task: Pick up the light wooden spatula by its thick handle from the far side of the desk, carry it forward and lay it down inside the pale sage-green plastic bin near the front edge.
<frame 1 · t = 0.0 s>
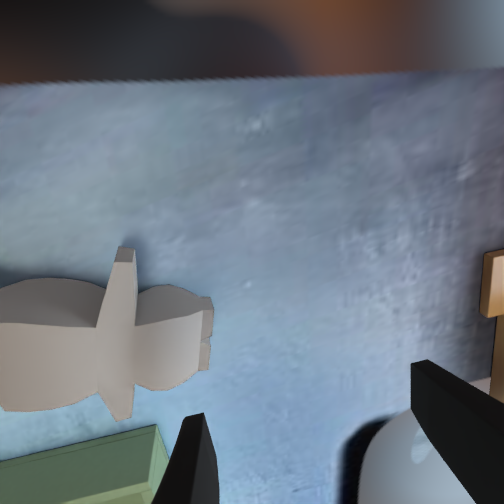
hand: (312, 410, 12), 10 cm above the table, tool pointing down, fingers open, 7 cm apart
bunny figurine: (81, 311, 20), on the table
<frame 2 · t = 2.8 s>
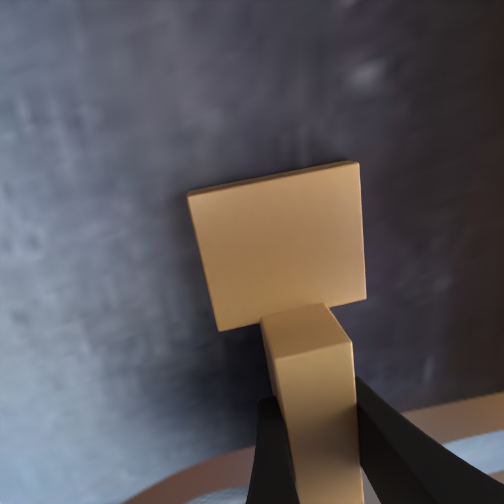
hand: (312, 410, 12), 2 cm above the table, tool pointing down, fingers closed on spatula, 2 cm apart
spatula: (296, 356, 13), on the table, touching gripper
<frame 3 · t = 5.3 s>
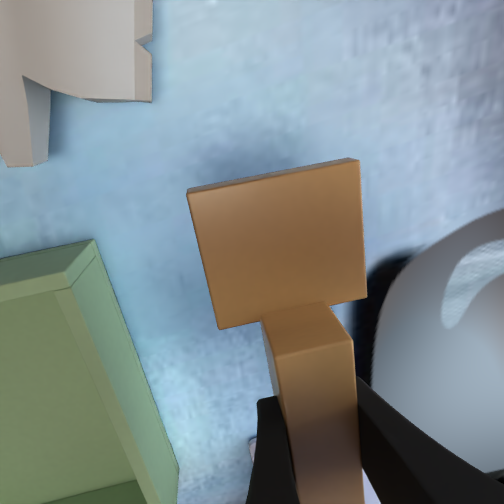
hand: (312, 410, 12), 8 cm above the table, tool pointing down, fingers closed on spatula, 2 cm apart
bin: (34, 396, 20), on the table
spatula: (296, 355, 13), point 7 cm above the table, touching gripper
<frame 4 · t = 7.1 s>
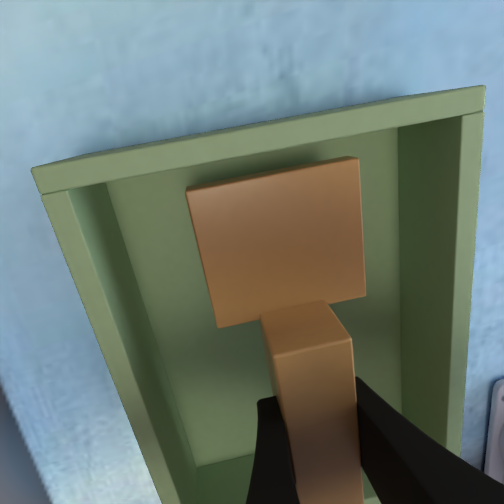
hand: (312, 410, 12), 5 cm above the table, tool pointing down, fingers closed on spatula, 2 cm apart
bin: (279, 312, 16), on the table
spatula: (295, 354, 13), point 3 cm above the table, touching gripper
when the fingers open (2 cm above the table, at t = 8.1 s): spatula stays where it is, resting on bin.
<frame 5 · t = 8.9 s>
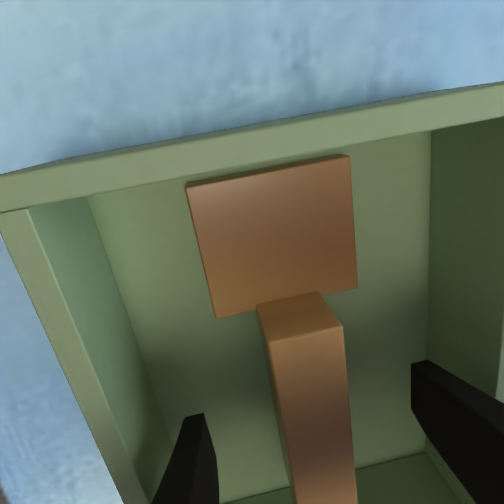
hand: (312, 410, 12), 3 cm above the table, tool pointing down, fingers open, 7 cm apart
bin: (289, 338, 14), on the table
spatula: (291, 344, 13), point 1 cm above the table, touching bin
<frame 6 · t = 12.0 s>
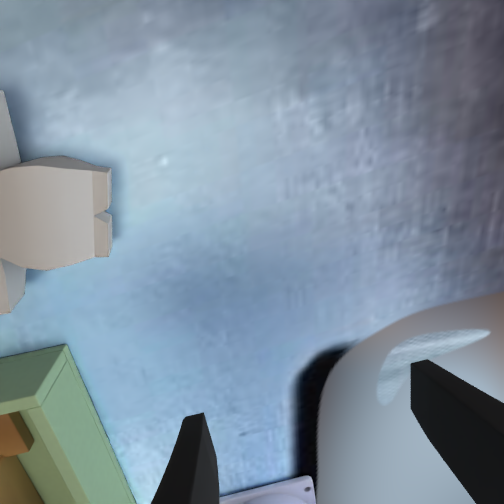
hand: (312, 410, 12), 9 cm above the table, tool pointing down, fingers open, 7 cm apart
bin: (15, 468, 23), on the table
spatula: (8, 476, 22), point 1 cm above the table, touching bin
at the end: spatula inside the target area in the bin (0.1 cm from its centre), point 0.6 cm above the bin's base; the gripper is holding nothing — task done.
